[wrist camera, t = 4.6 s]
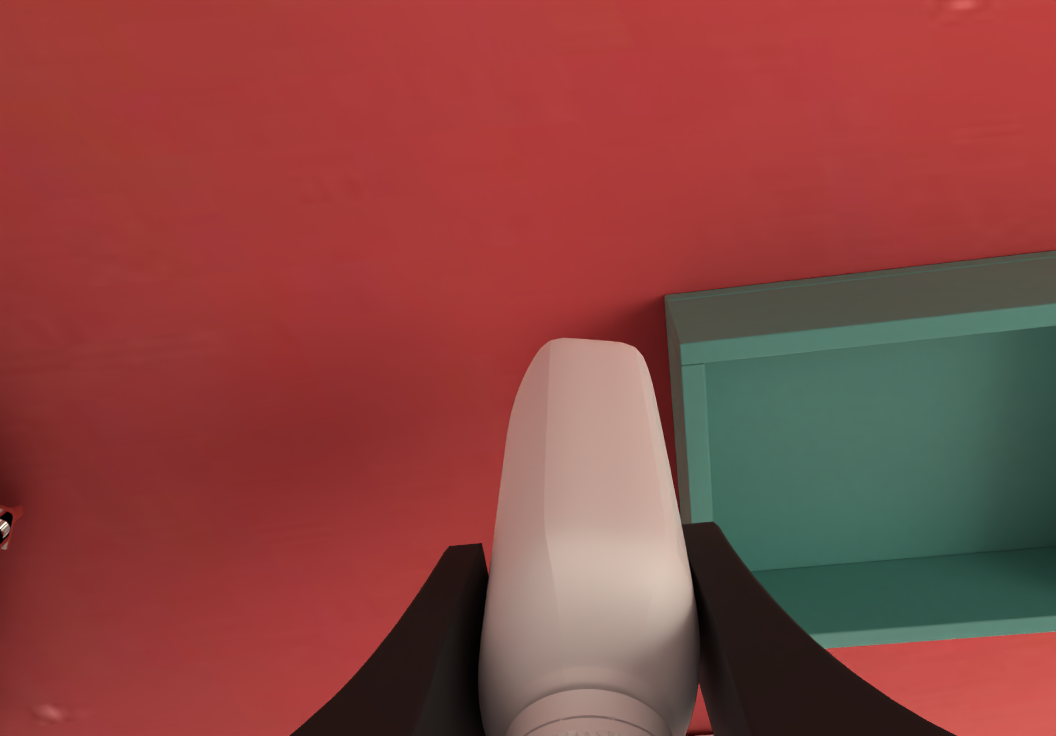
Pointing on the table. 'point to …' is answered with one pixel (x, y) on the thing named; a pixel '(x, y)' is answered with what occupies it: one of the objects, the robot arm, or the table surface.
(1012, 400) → the desk tidy
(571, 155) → the table surface
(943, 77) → the table surface
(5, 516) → the bill acceptor
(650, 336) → the table surface
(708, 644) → the robot arm
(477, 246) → the table surface
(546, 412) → the eye dropper bottle
